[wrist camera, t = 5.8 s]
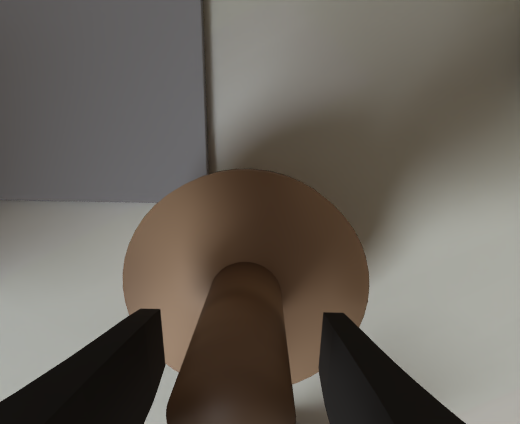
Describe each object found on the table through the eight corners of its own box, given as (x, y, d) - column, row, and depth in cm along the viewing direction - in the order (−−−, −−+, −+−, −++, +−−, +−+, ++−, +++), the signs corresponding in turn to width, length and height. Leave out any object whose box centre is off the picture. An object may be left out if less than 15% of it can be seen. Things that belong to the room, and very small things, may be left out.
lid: (154, 380, 12) (69, 566, 6) (110, 177, 9) (-74, 220, 4) (358, 369, 11) (437, 554, 6) (364, 159, 9) (494, 179, 4)
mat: (-78, 196, 13) (-89, 198, 12) (-201, -195, 9) (-222, -210, 9) (209, 201, 13) (207, 203, 12) (196, -192, 9) (193, -207, 9)
